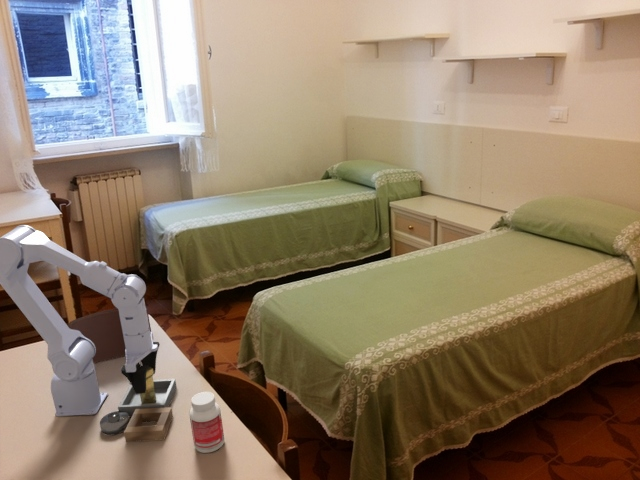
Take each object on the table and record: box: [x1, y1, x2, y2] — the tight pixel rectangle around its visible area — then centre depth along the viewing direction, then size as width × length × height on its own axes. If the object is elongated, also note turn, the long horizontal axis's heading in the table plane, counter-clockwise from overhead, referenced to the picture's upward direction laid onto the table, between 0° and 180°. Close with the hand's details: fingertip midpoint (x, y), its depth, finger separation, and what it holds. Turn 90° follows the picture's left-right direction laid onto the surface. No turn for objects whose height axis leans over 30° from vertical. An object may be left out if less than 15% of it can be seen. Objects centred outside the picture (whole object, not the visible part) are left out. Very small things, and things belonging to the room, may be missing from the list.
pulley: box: [99, 410, 130, 436], centre depth 124 cm, size 6×6×3 cm
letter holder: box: [68, 307, 152, 365], centre depth 155 cm, size 10×20×14 cm, turn 113°
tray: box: [117, 378, 177, 418], centre depth 132 cm, size 10×10×3 cm
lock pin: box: [140, 367, 157, 404], centre depth 130 cm, size 4×4×8 cm
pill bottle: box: [188, 391, 225, 454], centre depth 115 cm, size 6×6×11 cm
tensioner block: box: [123, 406, 174, 443], centre depth 122 cm, size 8×8×2 cm
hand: (145, 382), depth 130 cm, fingers open, 7 cm apart
